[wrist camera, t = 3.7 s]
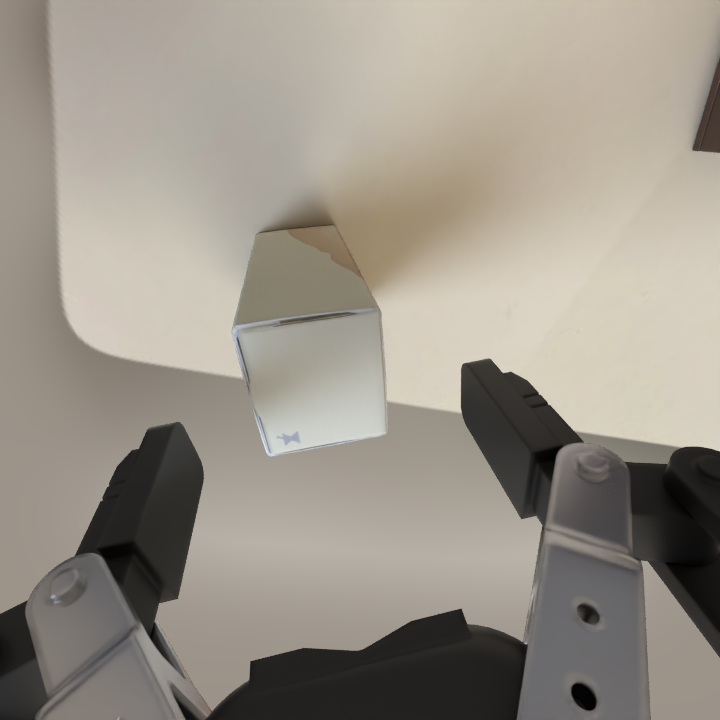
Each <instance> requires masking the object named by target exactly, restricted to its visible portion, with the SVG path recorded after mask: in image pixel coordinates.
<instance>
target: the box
mask: <svg viewBox="0 0 720 720" xmlns="http://www.w3.org/2000/svg"><path fill="white" fill-rule="evenodd" d="M232 336H233V341H234V344H235V348H236V352H237V356H238V360H239V364H240V367H241V371H242V374H243V378H244V381H245V384H246V388H247V391H248V395H249V398H250V402H251V405H252V408H253V411H254V415H255V418H256V421H257V424H258V428H259V431H260V434H261V437H262V441H263V443H264V447H265V450H266V453H267V454H268V455H269V456H276V455H280V454H287V453H291V452H298V451H303V450H309V449H314V448H320V447H325V446H331V445H337V444H341V443H347V442H352V441H356V440H361V439H366V438H372V437H377V436H382V435H384V434H386V433H387V393H386V372H385V358H384V343H383V331H382V321H381V311H380V308H379V307H378V305H377V303H376V301H375V299H374V298H373V296H372V294H371V292H370V290H369V288H368V286H367V284H366V282H365V281H364V278H363V277H362V275H361V273H360V271H359V269H358V267H357V265H356V263H355V261H354V259H353V258H352V256H351V254H350V252H349V250H348V248H347V246H346V244H345V242H344V240H343V238H342V237H341V235H340V233H339V231H338V229H337V227H336V226H335V225H330V226H317V227H306V228H296V229H287V230H279V231H272V232H264V233H258V234H256V236H255V240H254V244H253V248H252V251H251V255H250V260H249V263H248V267H247V271H246V275H245V279H244V283H243V287H242V291H241V295H240V299H239V303H238V307H237V311H236V315H235V319H234V323H233V327H232Z"/></svg>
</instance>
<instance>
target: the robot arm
mask: <svg viewBox="0 0 720 720" xmlns="http://www.w3.org/2000/svg"><path fill="white" fill-rule="evenodd" d="M461 410H462V415H463V419H464V421H465V424H466V426H467V428H468V429H469V431H470V433H471V434H472V436H473V437H474V439H475V441H476V443H477V445H478V446H479V448H480V450H481V451H482V453H483V455H484V456H485V458H486V460H487V462H488V463H489V465H490V466H491V468H492V470H493V472H494V473H495V475H496V477H497V479H498V480H499V482H500V483H501V485H502V487H503V489H504V490H505V492H506V494H507V496H508V497H509V499H510V500H511V502H512V504H513V506H514V507H515V509H516V511H517V513H518V514H519V516H520V517H521V519H524V518H528V517H533V516H537V517H538V519H539V521H540V522H541V524H542V525H543V526H542V532H541V537H540V543H539V549H538V556H537V562H536V568H535V574H534V580H533V586H532V593H531V598H530V604H529V610H528V615H527V621H526V627H525V632H524V638H523V642H521V641H520V640H518V639H516V638H514V637H512V636H510V635H508V634H506V633H504V632H501V631H498V630H495V629H492V628H489V627H484V626H478V625H469V624H467V623H466V620H465V617H464V615H463V612H462V609H458V610H454V611H450V612H446V613H442V614H438V615H434V616H430V617H426V618H422V619H418V620H414V621H411V622H409V623H407V624H406V625H404V626H402V627H401V628H399V629H397V630H395V631H394V632H392V633H390V634H389V635H387V636H385V637H384V638H382V639H380V640H379V641H377V642H375V643H373V644H372V645H370V646H368V647H367V648H365V649H363V650H359V651H346V650H328V649H312V648H302V649H298V650H294V651H290V652H286V653H282V654H278V655H274V656H270V657H266V658H262V659H258V660H254V661H251V662H250V663H251V664H250V679H249V681H248V682H246V683H244V684H243V685H241V686H240V687H238V688H237V689H236V690H234V691H233V692H232V693H231V694H229V695H228V696H227V697H226V698H225V699H224V700H223V701H222V702H221V703H220V704H219V705H218V706H217V707H216V708H215V709H214V710H213V711H211V709H210V708H209V706H208V705H207V703H206V702H205V701H204V699H203V698H202V697H201V695H200V694H199V692H198V691H197V689H196V688H195V686H194V685H193V683H192V681H191V680H190V678H189V676H188V674H187V672H186V671H185V669H184V667H183V665H182V664H181V662H180V660H179V658H178V656H177V655H176V653H175V651H174V649H173V648H172V646H171V644H170V642H169V641H168V639H167V637H166V635H165V633H164V632H163V630H162V628H161V627H160V625H159V623H158V622H157V620H156V619H155V617H156V613H157V609H158V605H159V603H162V602H167V601H170V600H175V599H178V595H179V591H180V586H181V582H182V577H183V573H184V568H185V563H186V559H187V554H188V550H189V545H190V540H191V536H192V532H193V527H194V522H195V518H196V513H197V508H198V504H199V499H200V495H201V490H202V485H203V479H204V477H203V476H204V474H203V466H202V463H201V460H200V458H199V456H198V454H197V452H196V450H195V448H194V446H193V444H192V442H191V440H190V438H189V436H188V434H187V432H186V430H185V428H184V427H183V425H182V424H181V423H180V422H176V423H170V424H165V425H161V426H156V427H151V428H149V429H148V430H147V432H146V434H145V436H144V438H143V441H142V443H141V445H140V448H139V449H136V450H132V451H131V452H130V453H129V454H128V455H127V456H126V457H125V458H124V460H123V461H122V462H121V463H120V464H119V465H118V466H117V468H116V470H115V472H114V474H113V476H112V478H111V480H110V483H109V487H107V489H106V491H105V493H104V495H103V501H101V502H100V504H99V506H98V508H97V510H96V512H95V514H94V516H93V519H92V521H91V523H90V525H89V527H88V530H87V531H86V534H85V535H84V538H83V540H82V542H81V544H80V547H79V548H78V550H77V553H76V555H75V556H74V557H71V558H70V559H67V560H65V561H64V562H62V563H61V564H59V565H58V566H56V567H55V568H54V569H52V570H51V571H50V572H49V573H48V574H47V575H46V576H44V578H43V579H42V580H41V581H40V582H39V583H38V584H37V586H36V587H35V588H34V590H33V591H32V593H31V595H30V597H29V599H28V600H27V601H25V602H24V603H22V604H20V605H17V606H15V607H13V608H12V609H9V610H8V611H5V612H4V613H1V614H0V720H651V716H650V696H649V677H648V657H647V638H646V617H645V598H644V577H643V567H642V563H641V560H643V561H648V562H649V563H650V565H651V566H652V567H653V569H654V570H655V571H656V573H657V574H658V575H659V577H660V578H661V579H662V581H663V582H664V583H665V585H666V586H667V587H668V589H669V590H670V591H671V593H672V594H673V595H674V597H675V598H676V599H677V601H678V602H679V603H680V605H681V606H682V607H683V609H684V610H685V612H686V613H687V614H688V616H689V617H690V618H691V620H692V621H693V622H694V623H695V625H696V626H697V628H698V629H699V630H700V632H701V633H702V634H703V636H704V637H705V638H706V640H707V641H708V642H709V644H710V645H711V646H712V648H713V649H714V650H715V652H716V653H717V654H718V656H719V657H720V452H719V451H716V450H713V449H709V448H704V447H684V448H680V449H678V450H676V451H675V452H674V453H673V454H672V456H671V457H670V460H669V462H668V464H653V463H652V464H651V463H632V462H624V461H623V460H622V459H621V458H620V457H619V456H618V455H617V454H615V453H613V452H612V451H610V450H608V449H606V448H604V447H601V446H599V445H595V444H590V443H584V442H583V441H582V440H581V438H580V437H579V436H578V435H577V434H576V433H575V432H574V431H573V430H572V429H571V427H570V426H569V425H568V424H567V423H566V422H565V421H564V420H563V419H562V418H561V417H560V416H559V414H558V413H557V412H556V411H555V410H554V409H553V408H552V407H551V406H550V405H548V403H547V401H546V400H545V399H544V398H543V397H542V396H541V395H539V394H538V392H537V390H536V389H535V388H534V387H533V386H532V385H531V384H530V383H529V382H528V381H527V380H525V379H524V378H522V377H520V376H518V375H516V374H514V373H512V372H508V373H502V372H501V371H500V369H499V368H498V367H497V366H496V365H495V363H494V362H493V361H492V360H491V359H484V360H479V361H474V362H469V363H464V364H463V365H462V368H461Z"/></svg>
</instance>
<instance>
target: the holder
mask: <svg viewBox="0 0 720 720" xmlns="http://www.w3.org/2000/svg"><path fill="white" fill-rule="evenodd" d="M693 151H705V152H716V153H720V59H719V63H718V66H717V69H716V73H715V76H714V80H713V83H712V86H711V90H710V93H709V96H708V100H707V103H706V107H705V110H704V113H703V117H702V120H701V123H700V127H699V130H698V134H697V137H696V140H695V144H694V147H693Z"/></svg>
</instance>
